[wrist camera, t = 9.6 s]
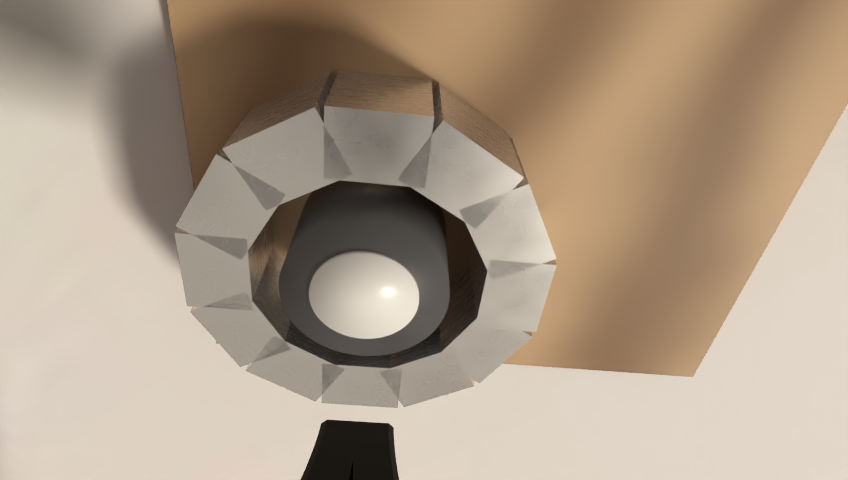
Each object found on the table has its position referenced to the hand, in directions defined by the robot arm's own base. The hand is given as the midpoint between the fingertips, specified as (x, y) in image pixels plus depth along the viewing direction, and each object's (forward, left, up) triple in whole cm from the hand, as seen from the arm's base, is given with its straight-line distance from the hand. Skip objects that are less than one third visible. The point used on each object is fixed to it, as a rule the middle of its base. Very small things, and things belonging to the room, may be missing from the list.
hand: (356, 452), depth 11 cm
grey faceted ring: (0, +1, -9) cm, 9 cm away
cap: (0, 0, -9) cm, 9 cm away
